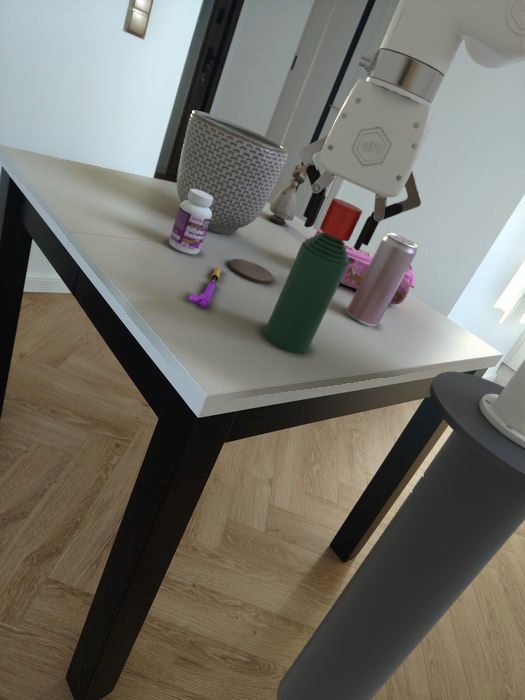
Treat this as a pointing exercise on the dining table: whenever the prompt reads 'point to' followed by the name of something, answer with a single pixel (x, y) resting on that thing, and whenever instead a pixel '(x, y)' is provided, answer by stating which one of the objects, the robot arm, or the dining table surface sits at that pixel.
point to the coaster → (251, 271)
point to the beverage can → (382, 279)
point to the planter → (228, 169)
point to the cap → (340, 219)
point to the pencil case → (359, 266)
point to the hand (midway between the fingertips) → (333, 235)
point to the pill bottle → (192, 222)
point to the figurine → (287, 198)
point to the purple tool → (206, 292)
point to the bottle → (307, 293)
